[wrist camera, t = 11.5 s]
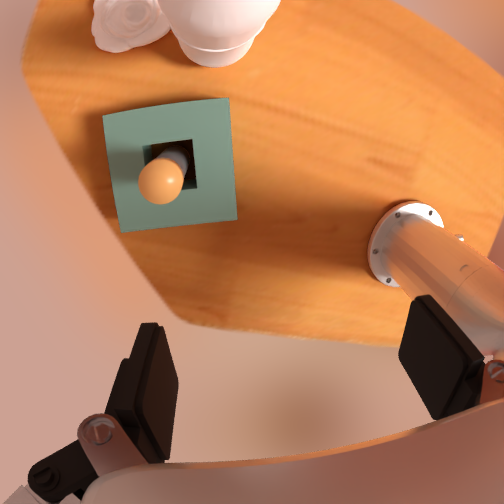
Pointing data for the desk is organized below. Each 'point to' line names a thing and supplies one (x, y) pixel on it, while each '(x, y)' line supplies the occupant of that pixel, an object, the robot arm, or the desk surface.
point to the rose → (127, 24)
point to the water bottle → (216, 27)
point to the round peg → (164, 175)
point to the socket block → (194, 190)
